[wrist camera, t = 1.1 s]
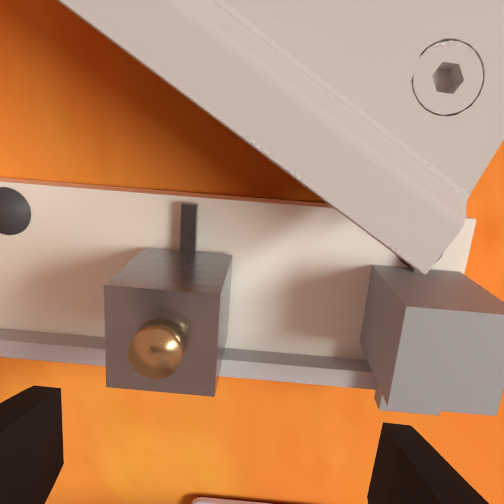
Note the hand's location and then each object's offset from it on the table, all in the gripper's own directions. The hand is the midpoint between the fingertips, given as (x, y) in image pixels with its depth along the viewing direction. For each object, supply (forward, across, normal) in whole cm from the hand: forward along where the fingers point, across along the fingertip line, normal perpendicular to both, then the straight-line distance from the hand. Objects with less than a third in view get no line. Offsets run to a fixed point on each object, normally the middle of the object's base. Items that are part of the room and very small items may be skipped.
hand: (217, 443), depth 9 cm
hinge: (+8, +1, -8) cm, 11 cm away
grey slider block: (+8, +2, 0) cm, 9 cm away
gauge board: (+10, +2, 0) cm, 10 cm away
